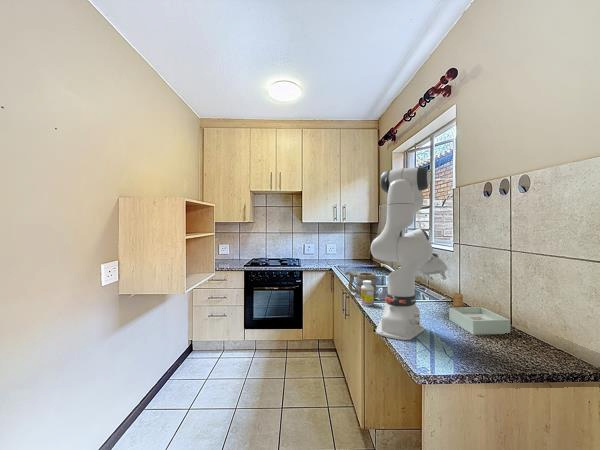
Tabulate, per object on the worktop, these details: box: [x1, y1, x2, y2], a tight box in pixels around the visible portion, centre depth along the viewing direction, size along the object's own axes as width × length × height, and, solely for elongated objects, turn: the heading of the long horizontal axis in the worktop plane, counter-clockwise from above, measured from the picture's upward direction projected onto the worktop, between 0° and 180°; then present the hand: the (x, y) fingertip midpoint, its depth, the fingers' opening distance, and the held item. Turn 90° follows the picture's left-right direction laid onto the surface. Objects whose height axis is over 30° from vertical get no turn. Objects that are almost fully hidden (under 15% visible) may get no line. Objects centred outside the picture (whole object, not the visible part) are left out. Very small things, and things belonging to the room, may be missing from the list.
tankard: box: [344, 270, 379, 300], centre depth 180 cm, size 20×13×15 cm, turn 57°
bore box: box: [448, 306, 511, 336], centre depth 125 cm, size 18×15×6 cm
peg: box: [452, 293, 464, 308], centre depth 140 cm, size 4×4×10 cm
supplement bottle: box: [360, 280, 375, 307], centre depth 162 cm, size 7×7×13 cm
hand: (438, 280), depth 151 cm, fingers open, 8 cm apart
